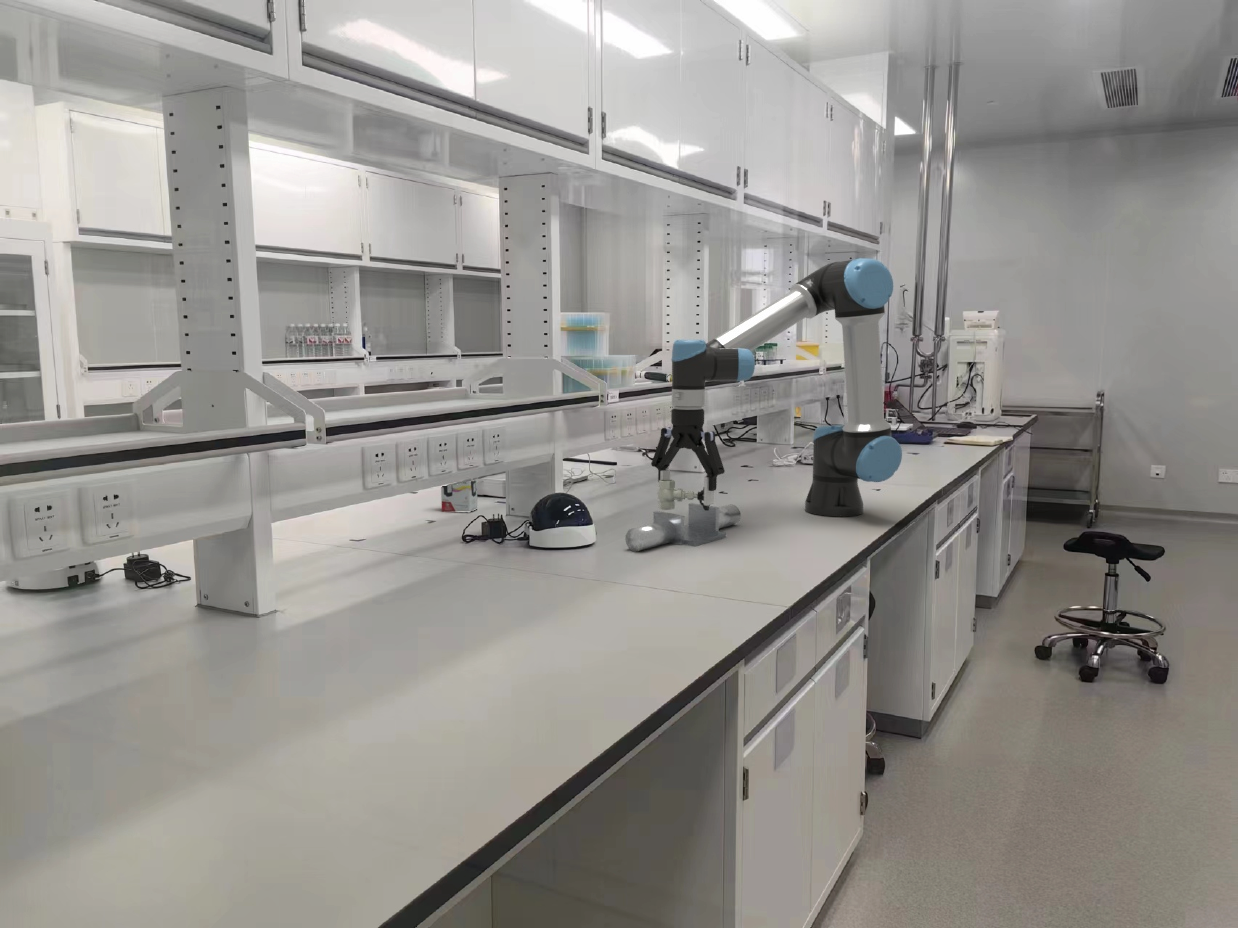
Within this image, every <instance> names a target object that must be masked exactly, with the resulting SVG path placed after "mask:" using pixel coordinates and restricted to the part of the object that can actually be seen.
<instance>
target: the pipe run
mask: <svg viewBox="0 0 1238 928" xmlns="http://www.w3.org/2000/svg"><path fill="white" fill-rule="evenodd" d="M741 517H742V515H741V511H740V508H739V507H738V506H737V505H735V504H732V503H731V504H727V505H723V506H714V505H713V506H712V505H710V506H709V511H707V510H704V509H703V506H702V505H701V504H700V503H694V502H690V503H688V522H687V523H688V524H687V525H686V524H685V520H686V519H685V515H682V514H677V513H676V514H675V513H670V512H665V511H658V510H656V511H653V523H650V524H646V525H645V524H644V525H642V526H637V527H634V528H630V529H628V531H626V534H625V539H624V540H625V543H626V546H627V547H628V549H629V550H630V551H631V552H632V551H633V552H639V551H643V550H646V549H650V548H655V547H658V546H661V545H664V544H667V543H669V544H672V545H673V544H674V545H679V546H682V545H686V546H692V547H697V546H700V545H705V544H708V543H710V542H714V541H717V540H721V539H724V538H727V533H726V532H722V531H719V529H722V528H726V527H729V526H730V527H731V526H732V525H733V526H734V525H736V524H738V523H739V521H741Z"/></svg>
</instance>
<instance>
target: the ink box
mask: <svg viewBox="0 0 1238 928" xmlns="http://www.w3.org/2000/svg"><path fill="white" fill-rule="evenodd" d="M440 490H441V491H440V495H441V498H440V499H441V512H444V511H473V510H474V509H476V508H477V509H478V479H477V480H474V481H471V482H463V483H461V484H458V485H450V486H442V487H440Z"/></svg>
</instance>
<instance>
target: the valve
mask: <svg viewBox="0 0 1238 928" xmlns="http://www.w3.org/2000/svg"><path fill="white" fill-rule="evenodd" d="M658 488H659V489H658V491H657V499H658V509H660V510H664V511H667V510H668V511H669V510H674V509H675V505H676V503H675V501H677V502H680V503H681V502H683V500H685V499H687V500H689V501H690V500H692V501H693V500H694V499H697V501H698V502H699V504H701V505H702V506H703V509H704V510H707V511H709V506H711V505H707V506H706V505H704V486H703V488H702V490H700V491H698V492H697V493H695V492H694V491H687V492H686V491H685V490H684V489H683V488H677V489H675V488H676V481H675V480H674V479H672V478H670V479H662V480H659V482H658Z"/></svg>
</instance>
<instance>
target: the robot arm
mask: <svg viewBox="0 0 1238 928" xmlns="http://www.w3.org/2000/svg"><path fill="white" fill-rule="evenodd" d="M893 292H894V279H893V276H892V273H891V272H890V270H889V268H888V267H887V266H886V265H885V264H884V263H883V262H881V261H880V260H878V259H875V258H865V257H863V258H860V257H859V258H857V259H849V260H842V261H835V262H830V263H828V264H825V265H823V266H821V267H820V268H818V269H816V270H814V271H813V272H811V273H810V274H809V275H807V276H805V277H804V278H802V279H800V280H798V282H796V283H794V284H793V285H791V286H790V289H789V292H788V293H786V294H784V295H783V296H781V297H780V298H777V299H776V300H774V301H773V302H771V303H770V304H768V305H766V306H765V307H763V308H762V309H760V310H758V311H757V312H755V313H754V314H752V315H750V316H749V317H747V318H745V319H744V320H742V321H741V322H739V323H737V324H735V325H734V326H732V327H730V328H729V329H728V330H726V331H725V332H723V333H721V334H719V335H718V336H716V337H715V338H713V339H711V340H710V341H708V342H706V341H705V340H703V339H676V340H675V341H674V342H673V343H672V351H671V352H672V354H671V406H672V407H673V408H672V409H671V410H670V411H671V412H670V413H671V415H670V416H671V417H670V423H671V424H672V428H671V427H670V426H669V427H662V428H661V430H660V438H659V441H658V444H657V447H656V449H655V452H654V455H653V458H652V461H651V464H650V465H651V467H655V468H656V469H657V472H658V473H657V474H658V475H657V479H658V480H657V482H658V483H659V480H662V479H671V469H669V466H670V465H671V463H672V461H673V460H674V459H675V457H676V455H677V454H678V452H679V451H680V450H681V449H687V450H692V452H693V453H695V456H696V457H697V459H698V461H699V462H700V465H701V466H702V468H703V470H704V471H705V472H704V473H706V475H705V476H703V477H704V479H703V487H704V501H703V503H704V505H706V506H707V505H710V506H712V505H714V502H715V501H714V495H715V491H716V489H717V484H718V483H717V479H718V476H719V475H723V474H725V467H724V465H723V461H722V458H721V455H720V452H719V448H718V445H717V443H716V432H715V431H714V430H711V431H704V428H703V426H704V424H705V410H704V408H703V407H704V406H706V405H705V402H706V398H705V397H706V382H737V383H738V382H744V381H745V382H746V381H749V380H750V379H751V378H752V377H753V375H754V372H755V369H756V365H755V364H756V360H755V356H754V353H753V352H752V351H755V350H756V349H757V348H759V347H760V346H762V345H764V344H765V343H768V342H769V341H770V340H772V339H773V338H775V337H776V336H778V335H780V334H781V333H783V332H785V331H786V330H788V329H789V328H791V327H792V326H794V325H796V324H797V323H799V322H801V321H802V320H804V319H809V320H810V319H813V318H815V317H816V316H818V315H819V314H822V313H825V312H829V311H834V318H835V320H836V321H838V323H839V324H841V327H842V329H841V330H842V342H843V343H842V344H843V345H842V346H843V361H844V375H845V377H844V378H845V391H846V407H847V408H846V409H847V423H845V425H844V424H842V425H825V426H824V425H823V426H821V425H820V426H818V427H816V428H815V430H814V433H813V434H814V435H813V439H812V443H813V448H812V449H813V450H812V451H813V453H812V454H813V455H812V482H811V485H810V488H809V490H808V493H807V496H806V499H805V502H804V511H805V512H808V514H809V513H810V514H813V515H816V516H817V515H818V516H819V515H820V516H827V517H854V516H860V515H862V514H863V513H864V502H863V498H862V495H861V491H860V487H859V484H858V483H859V480H861V481H863V482H867V483H868V482H873V483H881V482H885V481H887V480H889V479H890V478H891V477H893V476H894V474H895V472H897V471H898V469H899V467H900V465H901V463H902V460H903V449H902V446H901V444H900V443H899V442H898V441H897V440H896V439H895V438H894V437H893V436H892V425H891V424H890V423H889V422H888V421H887V420H885V413H884V396H883V379H882V378H883V375H882V359H881V357H882V356H881V341H880V339H881V338H880V320H881V319H882V318H883V317H884V316H885V312H886V311H885V305H886V304H887V303H888V302H889V301H890V297H892V294H893ZM671 438H673V439H672V441H671ZM703 441H704V442H703Z"/></svg>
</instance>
